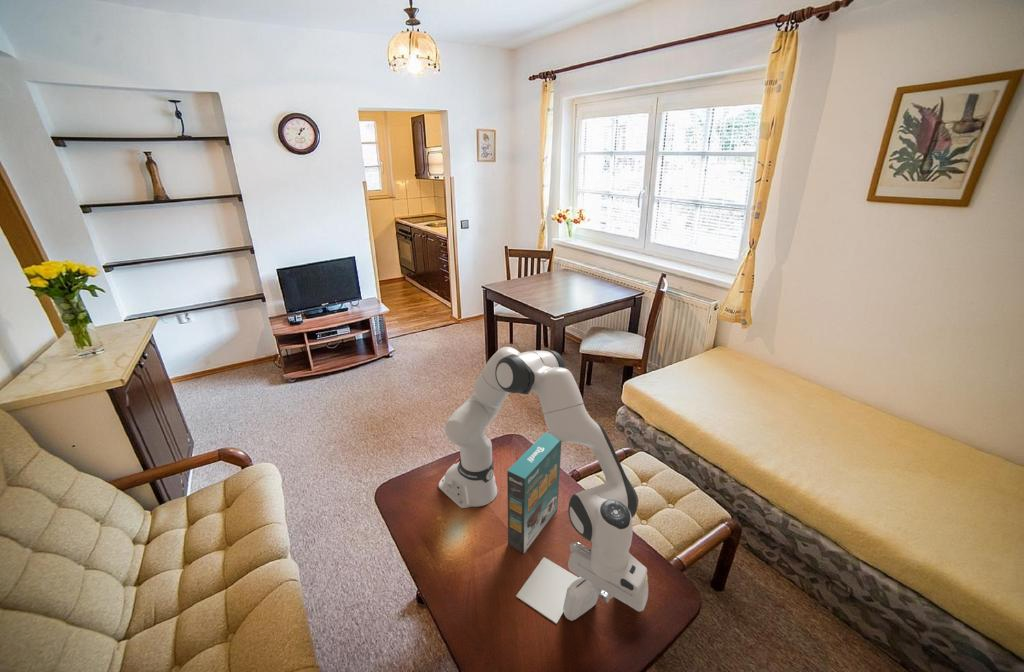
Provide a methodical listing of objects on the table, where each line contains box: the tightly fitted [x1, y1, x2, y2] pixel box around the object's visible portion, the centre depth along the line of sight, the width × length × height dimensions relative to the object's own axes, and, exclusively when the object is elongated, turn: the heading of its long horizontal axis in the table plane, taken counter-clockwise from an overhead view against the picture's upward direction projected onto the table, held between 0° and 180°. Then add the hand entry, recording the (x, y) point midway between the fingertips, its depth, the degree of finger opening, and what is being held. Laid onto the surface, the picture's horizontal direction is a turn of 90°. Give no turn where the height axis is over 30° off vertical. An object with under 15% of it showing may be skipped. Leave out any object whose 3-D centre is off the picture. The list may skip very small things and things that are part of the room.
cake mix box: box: [506, 432, 562, 555], centre depth 133 cm, size 22×6×30 cm, turn 146°
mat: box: [515, 557, 579, 625], centre depth 119 cm, size 13×15×1 cm
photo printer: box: [563, 576, 599, 622], centre depth 111 cm, size 10×4×12 cm, turn 123°
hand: (603, 597), depth 107 cm, fingers closed
